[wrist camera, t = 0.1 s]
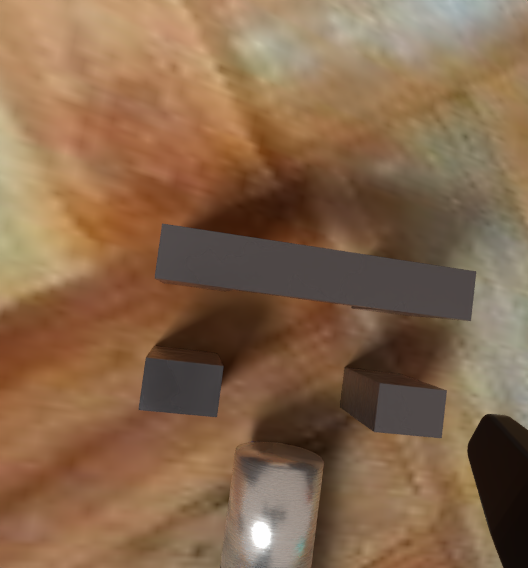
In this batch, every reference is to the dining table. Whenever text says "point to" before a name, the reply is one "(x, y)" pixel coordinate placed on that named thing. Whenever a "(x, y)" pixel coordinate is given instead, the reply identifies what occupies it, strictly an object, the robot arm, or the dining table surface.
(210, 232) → the gray bridge arch
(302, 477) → the tube
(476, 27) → the dining table surface
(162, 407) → the cradle collar
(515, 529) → the robot arm
